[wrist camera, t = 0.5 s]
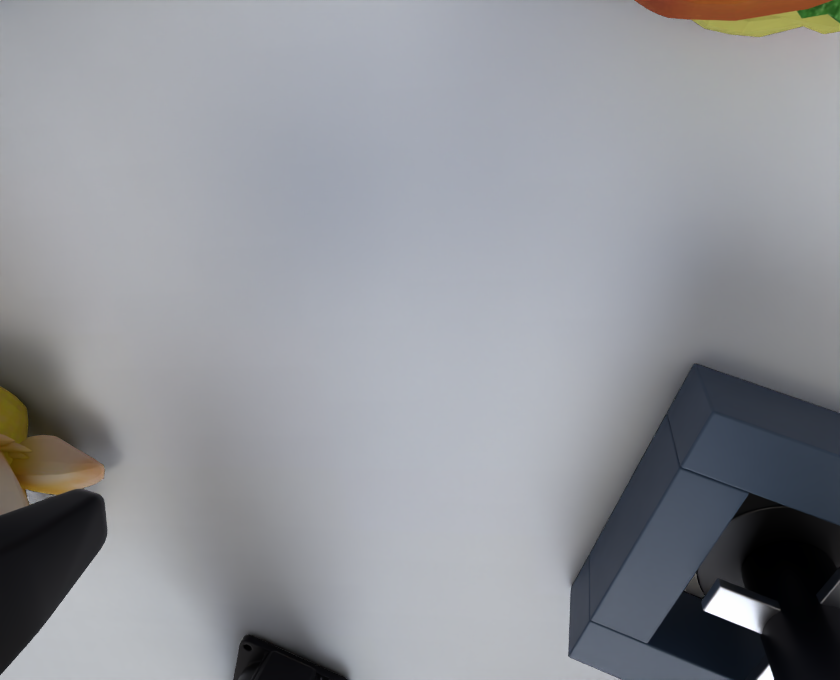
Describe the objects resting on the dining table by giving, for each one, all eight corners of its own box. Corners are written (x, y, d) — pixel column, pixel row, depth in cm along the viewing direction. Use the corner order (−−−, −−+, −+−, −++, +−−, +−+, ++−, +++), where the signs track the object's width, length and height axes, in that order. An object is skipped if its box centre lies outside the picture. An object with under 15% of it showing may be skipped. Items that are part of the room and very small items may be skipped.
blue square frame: (845, 700, 24) (883, 791, 21) (570, 588, 25) (567, 657, 22) (1056, 487, 19) (1149, 565, 16) (694, 362, 20) (713, 410, 17)
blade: (816, 635, 23) (958, 973, 14) (653, 570, 24) (692, 852, 15) (921, 515, 20) (1181, 847, 11) (731, 446, 21) (836, 705, 12)
